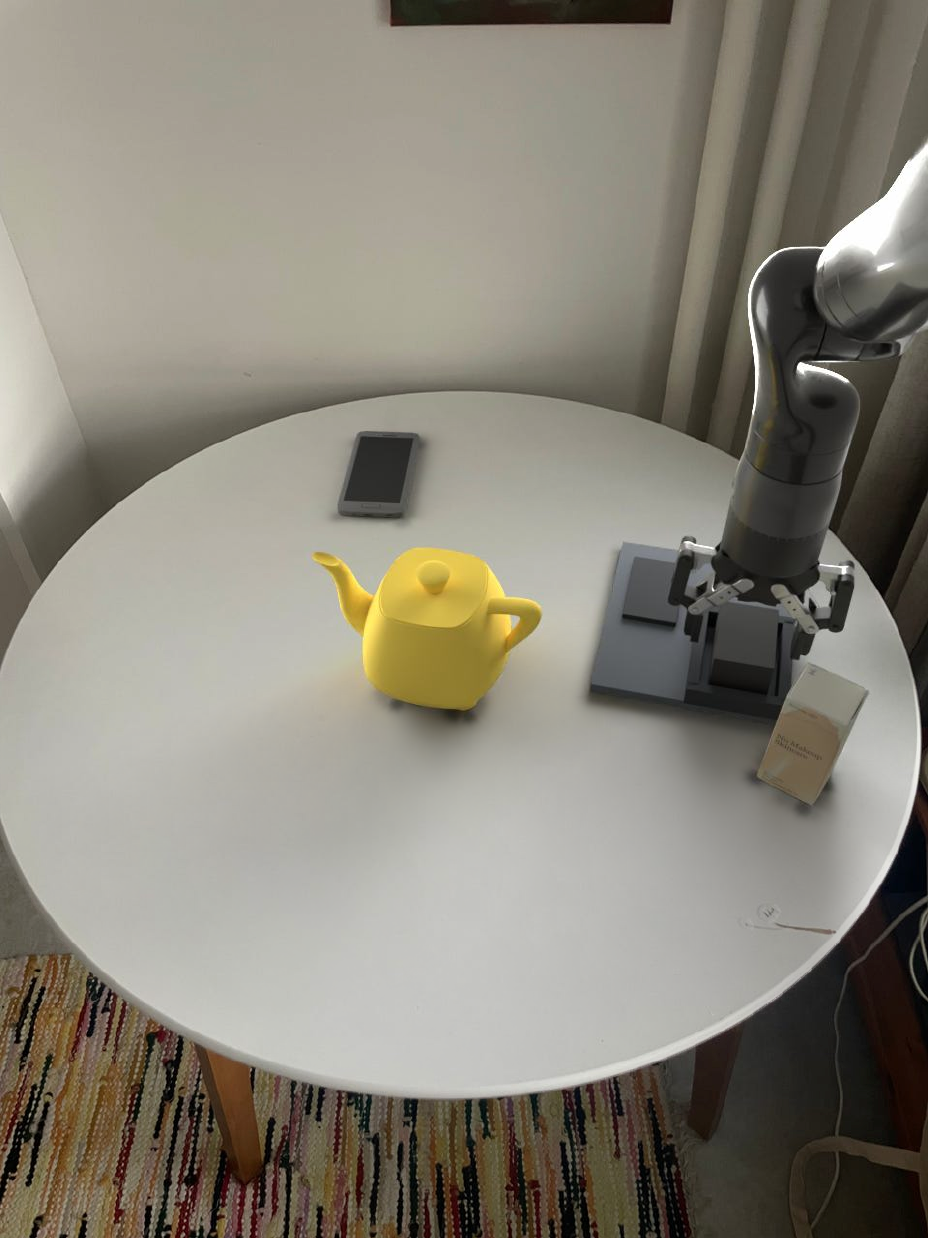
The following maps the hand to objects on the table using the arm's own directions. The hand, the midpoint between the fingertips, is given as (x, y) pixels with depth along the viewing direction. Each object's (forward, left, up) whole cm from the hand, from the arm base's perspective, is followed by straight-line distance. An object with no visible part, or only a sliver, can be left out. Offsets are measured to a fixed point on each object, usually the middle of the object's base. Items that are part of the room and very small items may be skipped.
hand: (744, 644), depth 89 cm
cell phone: (+40, -20, -4) cm, 45 cm away
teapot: (+27, +5, -4) cm, 28 cm away
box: (-6, +10, -4) cm, 12 cm away
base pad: (+4, -5, -4) cm, 7 cm away
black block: (0, 0, -3) cm, 3 cm away
